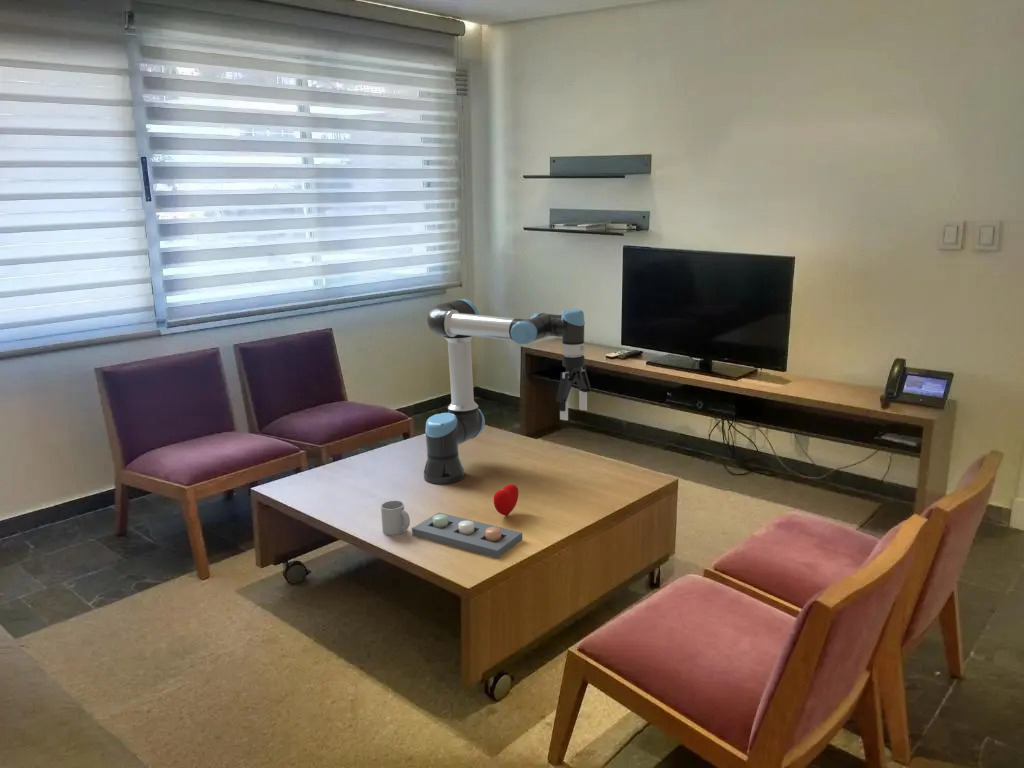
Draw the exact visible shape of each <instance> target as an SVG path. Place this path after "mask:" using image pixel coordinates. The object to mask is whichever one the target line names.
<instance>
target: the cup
mask: <svg viewBox="0 0 1024 768" xmlns="http://www.w3.org/2000/svg"><path fill="white" fill-rule="evenodd" d="M380 512H381V526H382V527H381V528H382V532H383V534H385V535H387V536H393V537H394V536H398V535H402V534H403V533H404V532H405V531H407V530H408V529H409V527H410V525H411V520H410V515H409V514H408V512H407V511H406V510H405V503H404V502H403V501H401V500H388V501H384V502H383V503H382V504H381V505H380Z"/></svg>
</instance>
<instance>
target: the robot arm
mask: <svg viewBox="0 0 1024 768" xmlns="http://www.w3.org/2000/svg"><path fill="white" fill-rule="evenodd" d="M426 323H427V326H428V328H429V330H430V331H431V332H432V333H433V334H435V335H436V336H440V337H443V338H444V339H445V340H446V341H447V349H448V353H447V354H448V367H449V383H450V399H451V401H450V404H449V405H448V406H447V412H441V413H436V414H434V415H431V416H430V417H428V419H427V420H426V422H425V431H424V432H425V438H426V439H425V440H426V452H427V453H426V455H427V456H426V462H425V466H424V470H423V479H424V481H426V482H428V483H431V484H438V485H440V484H442V485H445V484H447V485H448V484H452V483H456V482H459V481H461V480H462V479H463V478H464V477H465V469H464V467H463V465H462V462H461V459H460V457H459V455H460V454H459V445H462V444H463V443H465V442H468V441H470V440H473V439H475V438H476V437H477V436H479V435H480V434H481V433H482V432H483V430H484V427H485V424H486V422H485V421H486V420H485V416H484V413H482V410H481V409H480V408H479V404H477V403H476V401H475V400H474V399H475V398H474V379H473V361H472V345H471V344H472V342H471V341H472V339H473V338H474V337H477V338H488V339H496V340H505V341H506V340H507V341H513V342H515V343H516V344H518V345H526V344H530V343H532V342H535V341H538V340H541V339H545V338H546V337H547V338H548V337H558V338H561V340H562V342H561V343H562V346H561V347H562V348H561V349H562V352H561V353H562V362H561V363H562V367H564V368H565V372H564V371H561V372H560V377H559V378H560V380H559V383H558V387H557V394H556V397H555V401H556V402H559V420H560V421H561V420H562V421H568V420H569V401H568V398H569V394H570V391H571V389H572V386H574V384H575V383H576V384H577V387H579V391H578V398H579V399H578V403H579V404H578V406H579V407H578V408H579V409H578V410H580V411H588V393H590V392H591V383H590V380H589V376H588V373H587V365H585V355H584V354H585V349H586V347H585V325H586V324H585V323H586V322H585V313H584V311H583V310H581V309H578V308H573V309H572V308H569V309H568V308H567V309H564V310H562V311H561V314H555V313H554V314H553V313H545V312H542V313H541V312H540V313H538V312H537V313H534V314H532V315H531V317H530V318H527V319H526V318H525V319H524V318H516V317H515V318H514V317H504V316H494V315H484V314H480V312H479V310H478V308H477V306H476V305H475V304H474V303H473V302H472V301H471V300H469V299H464V298H462V299H454V300H450V301H447V302H443V303H438V304H436V305H434V306H433V307H431V308H430V310H429V312H428V313H427V317H426Z"/></svg>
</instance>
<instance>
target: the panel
mask: <svg viewBox="0 0 1024 768" xmlns="http://www.w3.org/2000/svg"><path fill="white" fill-rule="evenodd" d="M438 514H444V515H447V516H448V526H447V527H446V528H444V529H439V528H435V527H433V516H435V515H438ZM467 520H468V521H472V522H474V533H473V534H471V535H470V536H466V535H462V534H459V526H458V524H459V522H461V521H467ZM490 527H498V528H500V529H501V540H500V541H499V542H497V543H494V542H490V541H486V537H485V530H486V529H487V528H490ZM411 535H412V537H416V538H419V539H420V538H421V539H423V540H427V541H431V542H435V543H439V544H442V545H446V546H450V547H454V548H457V549H461V550H464V551H469V552H473V553H476V554H480V555H484V556H488V557H490V556H491V557H490V558H493V559H494V558H495V559H499V558H500V557H502V556H503V555H504V554H506V553H507V552H508V551H510V550H511V549H513V548H514V547H515V546H517V545H518V544H519V543H521V542H522V541H523V532H521V531H517V530H513V529H510V528H509V529H508V528H504V527H501V526H497V525H492V524H488V523H485V522H480V521H476V520H472V519H467V518H463V517H460V516H455V515H452V514H448V513H447V514H446V513H443V512H437V513H436V514H434V515H432V516H430V517H429V518H427V519H424V521H421V522H420V523H418V524H417V525H415V526H413V527H411Z"/></svg>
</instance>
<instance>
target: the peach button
mask: <svg viewBox="0 0 1024 768" xmlns="http://www.w3.org/2000/svg"><path fill="white" fill-rule="evenodd" d="M498 527H499V526H497V527H490V528H487V529H486V530H485V537H486V541H490V542H494V543H497V542H499V541H500V540H501V529H500V528H498Z"/></svg>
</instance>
